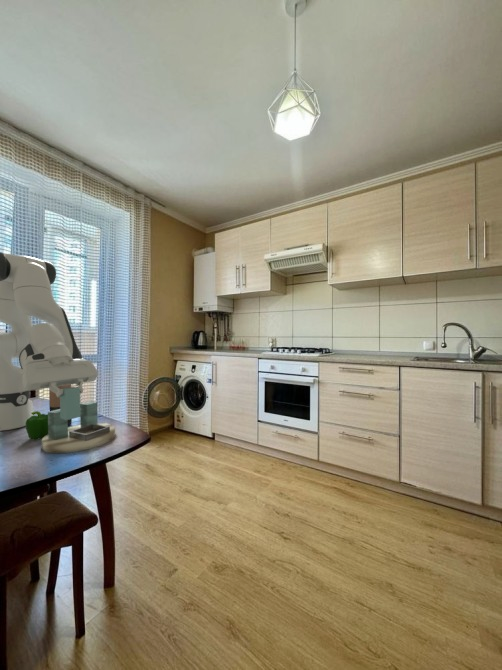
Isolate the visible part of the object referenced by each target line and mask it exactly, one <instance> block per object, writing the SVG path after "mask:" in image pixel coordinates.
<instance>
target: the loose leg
mask: <svg viewBox="0 0 502 670" xmlns="http://www.w3.org/2000/svg"><path fill="white" fill-rule="evenodd" d="M77 387H78V386H71V387H70V388H63V392H64V395H63V396H62V397H60V418H62V419H64V420H69V419H77V418H80V404H81V393H80V388H77Z"/></svg>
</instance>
